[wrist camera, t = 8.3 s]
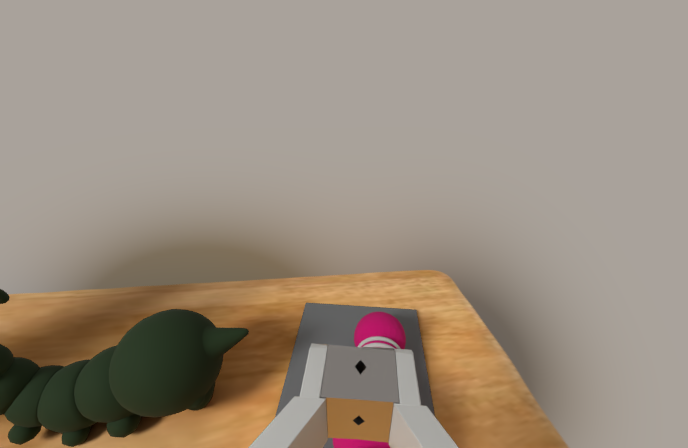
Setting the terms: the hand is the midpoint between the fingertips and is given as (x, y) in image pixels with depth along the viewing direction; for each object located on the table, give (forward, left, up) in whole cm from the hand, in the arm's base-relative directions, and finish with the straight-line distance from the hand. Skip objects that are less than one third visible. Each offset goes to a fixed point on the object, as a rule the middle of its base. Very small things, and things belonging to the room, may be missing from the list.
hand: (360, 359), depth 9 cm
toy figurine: (-25, +4, -24) cm, 35 cm away
